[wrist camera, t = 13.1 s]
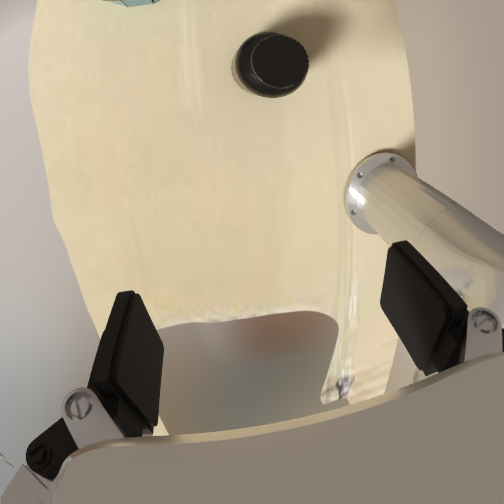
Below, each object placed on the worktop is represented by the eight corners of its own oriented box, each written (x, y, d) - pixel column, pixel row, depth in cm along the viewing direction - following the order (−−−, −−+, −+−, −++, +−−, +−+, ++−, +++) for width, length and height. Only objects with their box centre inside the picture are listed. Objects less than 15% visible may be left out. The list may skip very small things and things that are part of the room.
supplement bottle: (229, 43, 28) (236, 21, 18) (287, 43, 29) (321, 25, 18) (231, 96, 32) (240, 100, 21) (288, 95, 32) (322, 100, 22)
